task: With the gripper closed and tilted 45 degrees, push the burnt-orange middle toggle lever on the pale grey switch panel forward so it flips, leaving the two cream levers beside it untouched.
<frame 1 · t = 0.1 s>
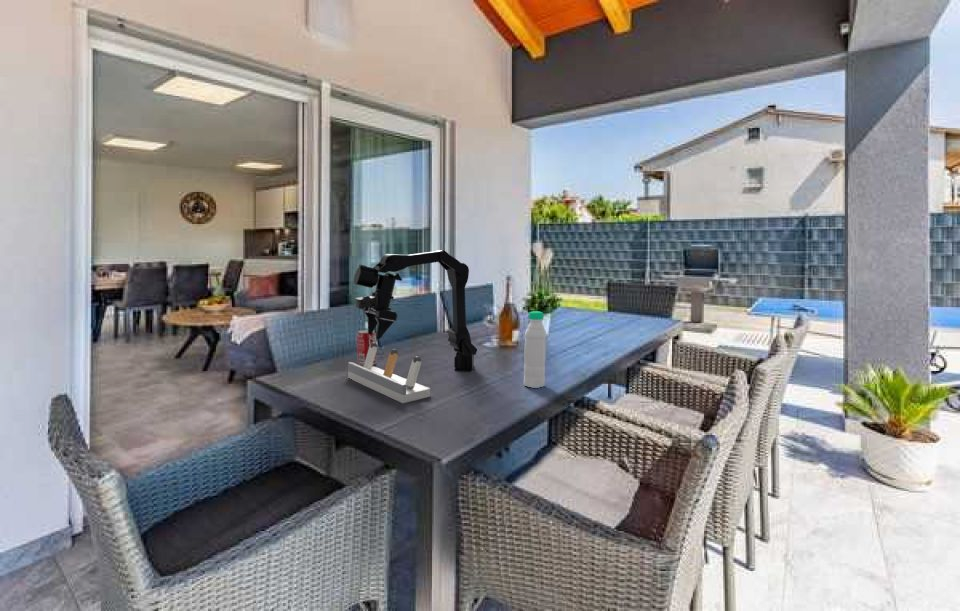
hand: (373, 336, 164), 15 cm above the table, tool pointing down, fingers open, 9 cm apart
lever cream 2: (413, 372, 151), point 7 cm above the table, hinge at -20.0°
water bottle: (534, 386, 163), on the table
lever orange: (390, 363, 160), point 7 cm above the table, hinge at -20.0°
switch panel: (386, 386, 160), on the table
soda can: (367, 364, 188), on the table
lever cream 1: (370, 356, 170), point 7 cm above the table, hinge at -20.0°
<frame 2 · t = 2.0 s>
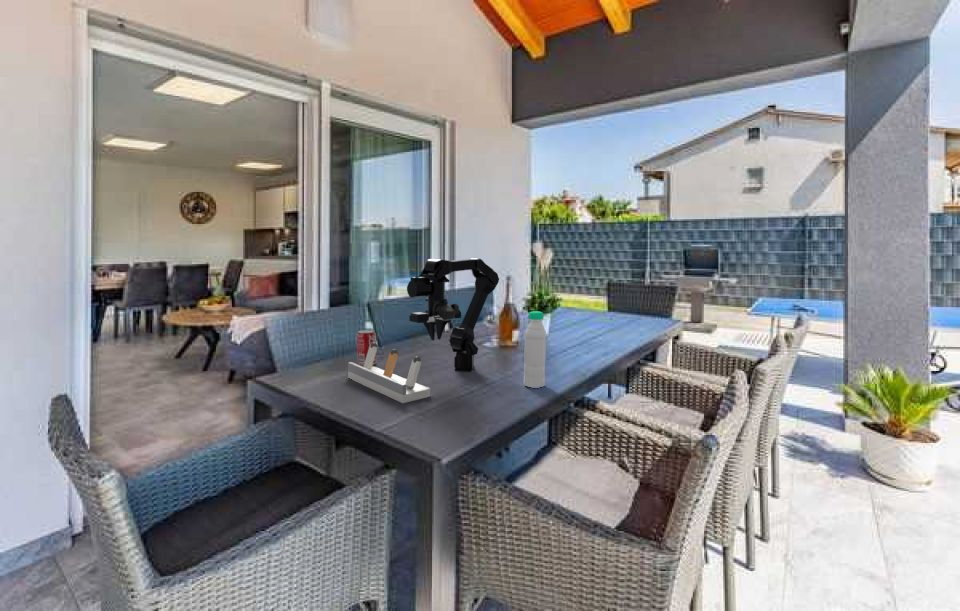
hand: (435, 339, 172), 13 cm above the table, tool pointing down, fingers closed
nothing on the table moved.
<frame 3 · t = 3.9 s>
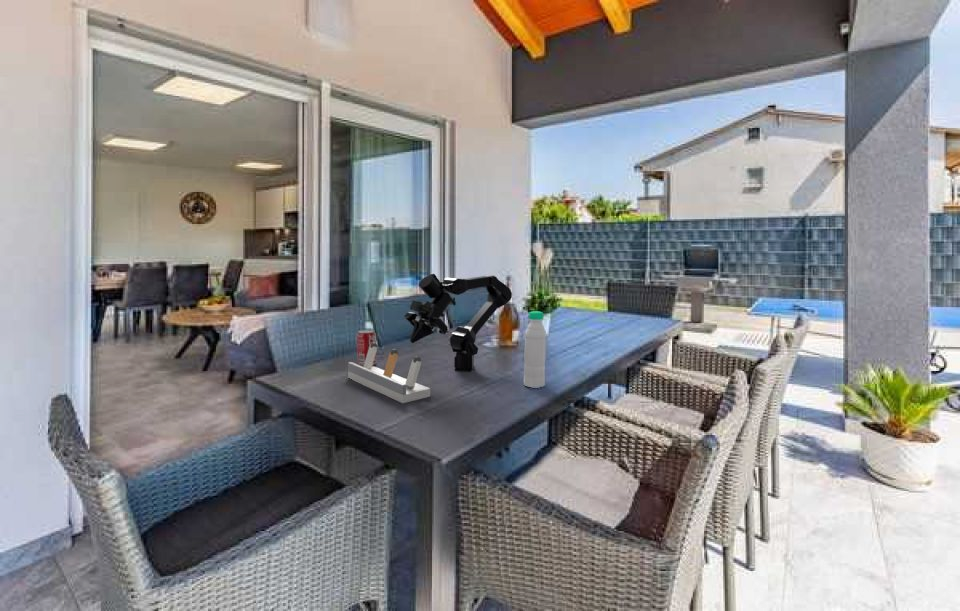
hand: (411, 342, 165), 14 cm above the table, tool tilted 45°, fingers closed
nothing on the table moved.
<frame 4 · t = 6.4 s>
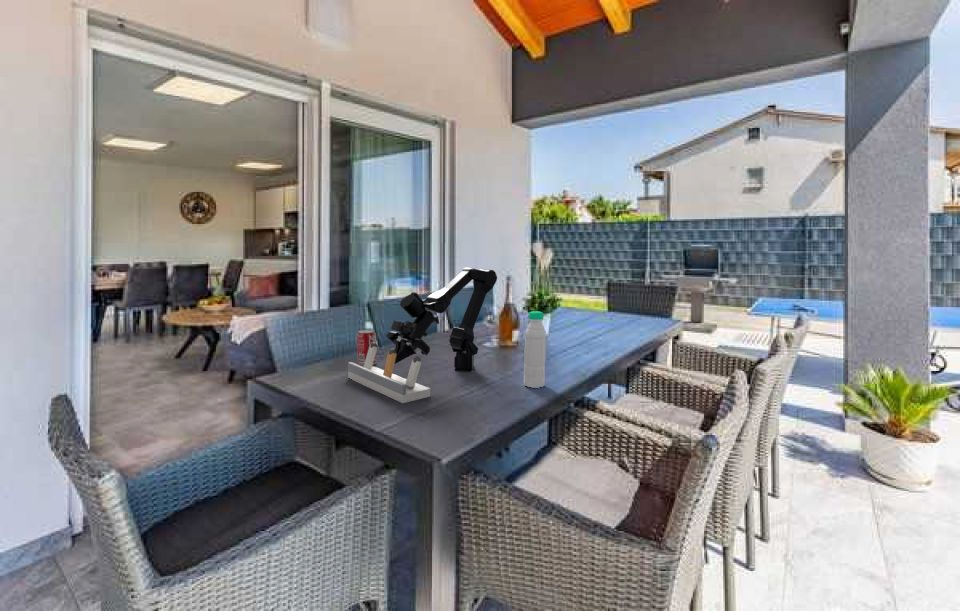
hand: (392, 363, 161), 7 cm above the table, tool tilted 45°, fingers closed, pressing on lever orange
lever orange: (389, 363, 160), point 7 cm above the table, hinge at -15.4°, touching gripper
everything else where it was.
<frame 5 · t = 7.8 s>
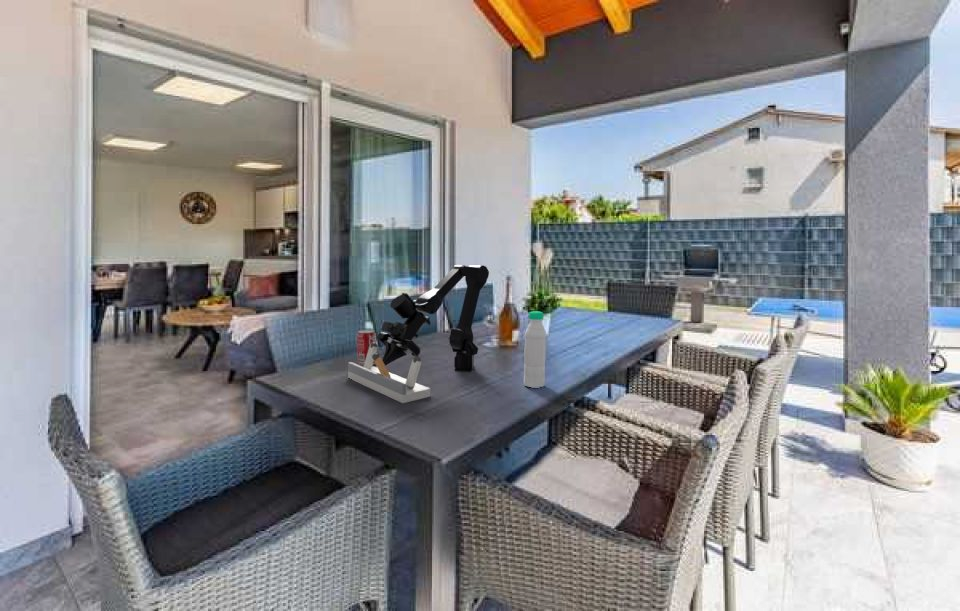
hand: (382, 364, 158), 8 cm above the table, tool tilted 45°, fingers closed, pressing on lever orange
lever orange: (381, 366, 158), point 7 cm above the table, hinge at 27.0°, touching gripper
everything else where it was.
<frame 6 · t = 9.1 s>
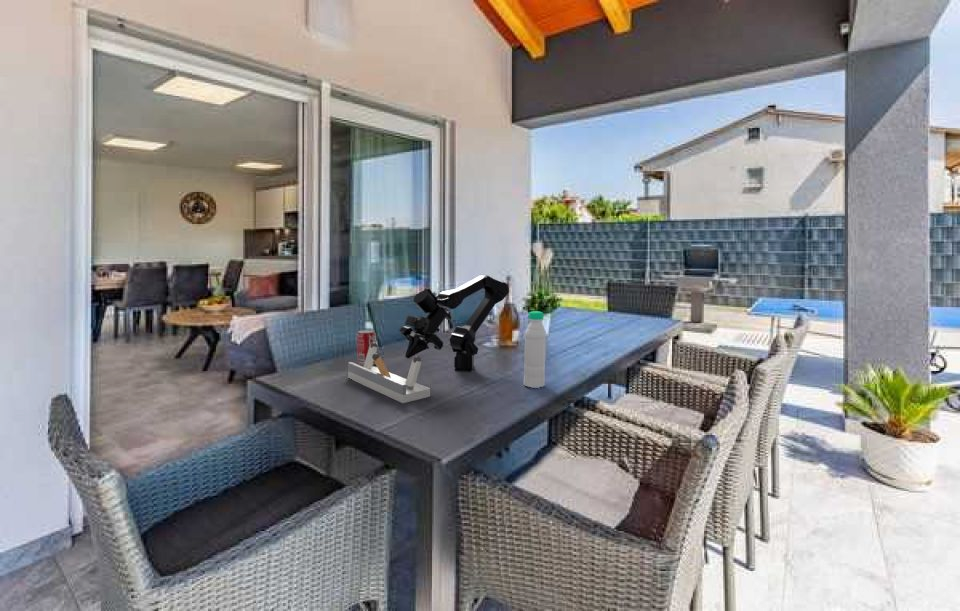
hand: (406, 357, 164), 9 cm above the table, tool tilted 45°, fingers closed
lever orange: (381, 366, 158), point 7 cm above the table, hinge at 27.1°
everything else where it was.
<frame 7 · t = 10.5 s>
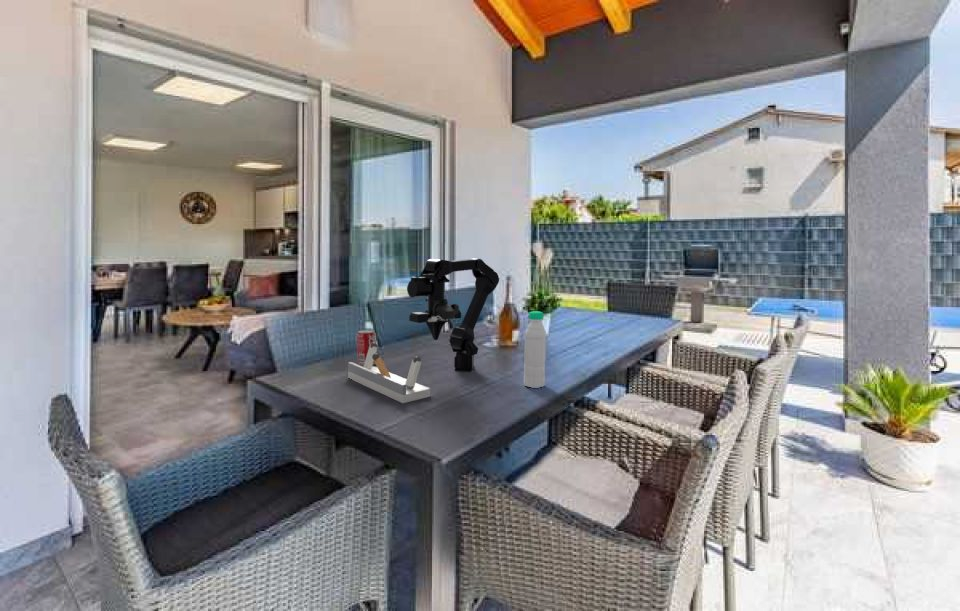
hand: (435, 339, 172), 13 cm above the table, tool pointing down, fingers closed
nothing on the table moved.
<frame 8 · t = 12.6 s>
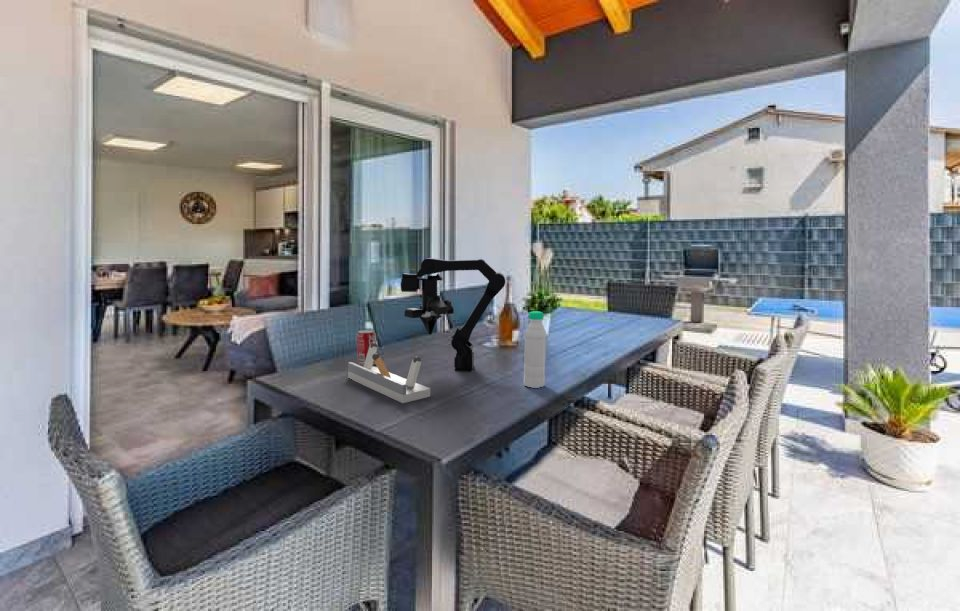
hand: (429, 334, 181), 13 cm above the table, tool pointing down, fingers closed
nothing on the table moved.
at the end: lever orange at +27° (first picture: -20°); lever cream 2 at -20° (first picture: -20°); lever cream 1 at -20° (first picture: -20°) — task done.
